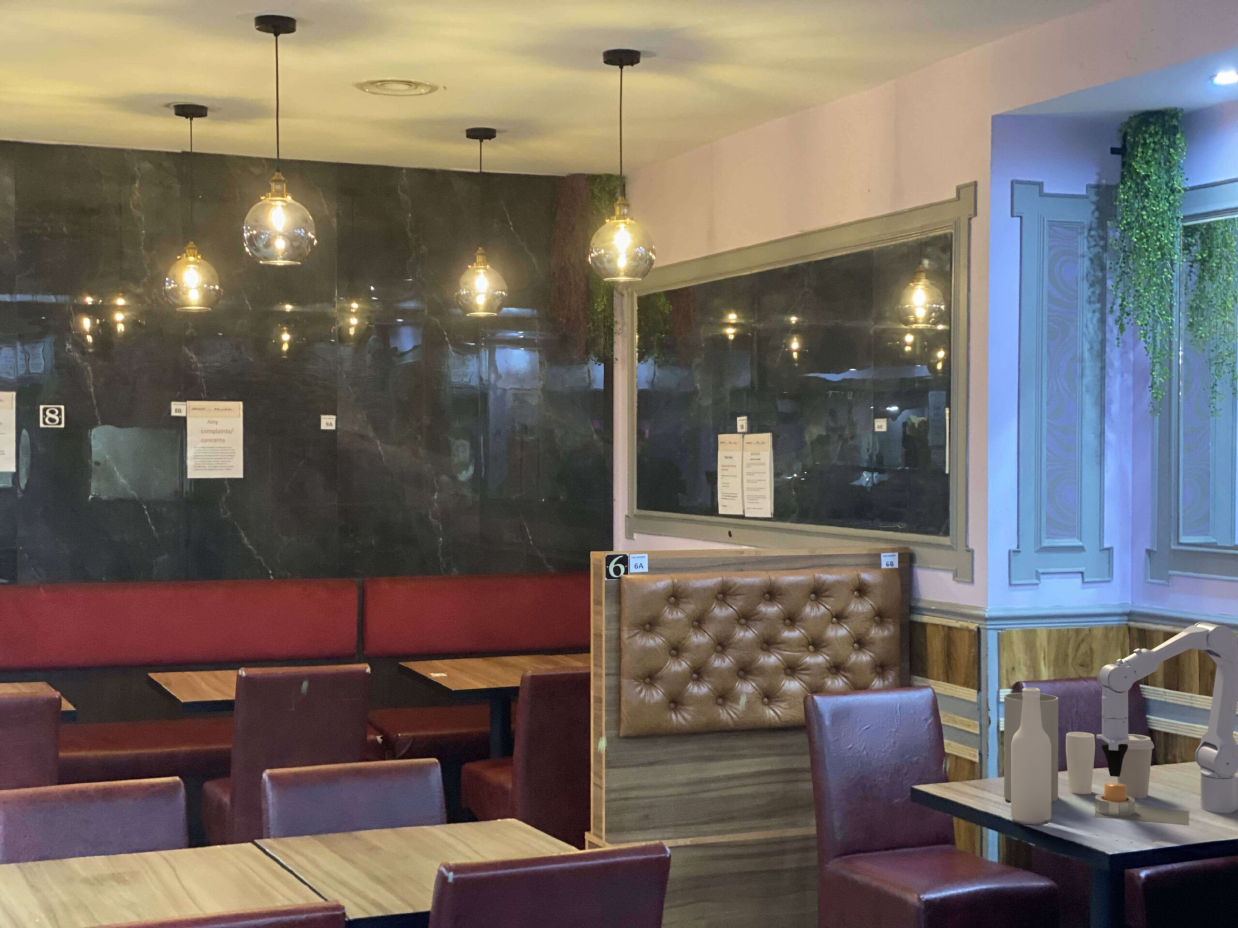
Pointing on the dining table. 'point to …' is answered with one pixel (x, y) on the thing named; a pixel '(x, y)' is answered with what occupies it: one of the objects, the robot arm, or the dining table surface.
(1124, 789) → the orange block
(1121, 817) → the board
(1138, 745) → the coffee cup
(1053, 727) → the cylinder vase
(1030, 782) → the alcohol
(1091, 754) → the drinking glass
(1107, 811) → the beige faceted ring
